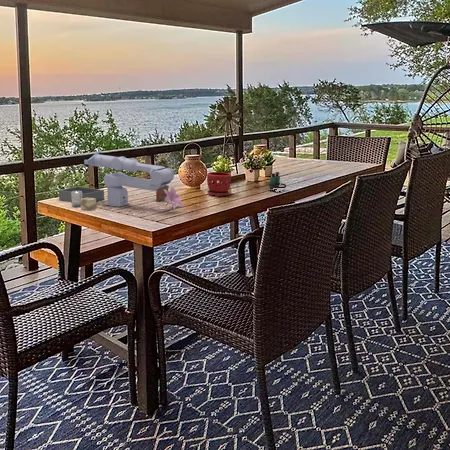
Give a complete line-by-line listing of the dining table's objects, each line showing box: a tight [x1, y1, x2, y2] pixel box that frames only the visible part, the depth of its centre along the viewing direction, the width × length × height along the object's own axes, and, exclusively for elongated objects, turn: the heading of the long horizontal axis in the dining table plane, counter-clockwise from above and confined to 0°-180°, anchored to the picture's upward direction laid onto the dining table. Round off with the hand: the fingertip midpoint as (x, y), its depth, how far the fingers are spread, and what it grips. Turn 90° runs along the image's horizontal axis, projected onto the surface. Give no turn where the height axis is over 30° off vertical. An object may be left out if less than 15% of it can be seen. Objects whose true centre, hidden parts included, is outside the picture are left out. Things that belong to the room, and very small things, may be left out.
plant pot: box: [206, 171, 232, 197], centre depth 280 cm, size 13×13×12 cm
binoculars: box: [268, 171, 287, 190], centre depth 294 cm, size 9×11×10 cm
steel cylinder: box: [71, 191, 82, 208], centre depth 248 cm, size 5×5×7 cm
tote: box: [58, 186, 105, 203], centre depth 262 cm, size 18×14×5 cm
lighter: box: [155, 184, 170, 203], centre depth 263 cm, size 8×3×10 cm, turn 141°
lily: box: [164, 185, 184, 210], centre depth 250 cm, size 12×12×10 cm
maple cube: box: [80, 197, 97, 211], centre depth 243 cm, size 5×5×5 cm
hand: (82, 158), depth 257 cm, fingers open, 7 cm apart
